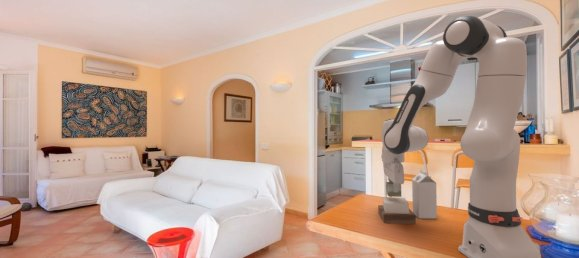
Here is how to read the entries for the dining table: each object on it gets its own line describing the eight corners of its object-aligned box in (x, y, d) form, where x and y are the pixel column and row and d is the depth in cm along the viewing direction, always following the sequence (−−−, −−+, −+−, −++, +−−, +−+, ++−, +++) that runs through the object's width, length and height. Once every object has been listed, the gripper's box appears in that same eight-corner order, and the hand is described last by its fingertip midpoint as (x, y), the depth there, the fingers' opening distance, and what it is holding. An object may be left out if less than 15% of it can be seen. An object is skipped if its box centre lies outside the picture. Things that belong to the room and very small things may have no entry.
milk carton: (429, 213, 114) (428, 170, 114) (437, 219, 107) (436, 173, 107) (412, 213, 115) (411, 170, 115) (418, 218, 108) (418, 173, 107)
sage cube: (401, 196, 107) (401, 184, 107) (388, 196, 108) (388, 184, 108) (398, 193, 112) (398, 181, 112) (386, 193, 113) (385, 181, 113)
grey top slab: (409, 214, 104) (408, 203, 104) (385, 212, 106) (384, 203, 106) (405, 207, 112) (404, 197, 112) (382, 206, 115) (382, 197, 115)
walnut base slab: (415, 225, 102) (415, 215, 102) (383, 224, 104) (383, 214, 104) (406, 214, 114) (406, 205, 114) (378, 214, 116) (378, 205, 116)
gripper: (408, 160, 99) (408, 197, 99) (395, 154, 119) (395, 184, 119) (390, 160, 100) (391, 196, 100) (380, 154, 120) (381, 184, 120)
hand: (393, 189), depth 110 cm, fingers closed on sage cube, 5 cm apart
